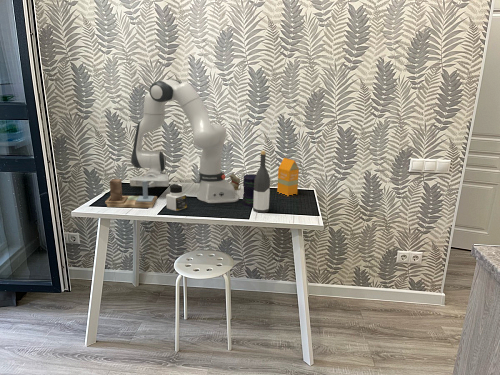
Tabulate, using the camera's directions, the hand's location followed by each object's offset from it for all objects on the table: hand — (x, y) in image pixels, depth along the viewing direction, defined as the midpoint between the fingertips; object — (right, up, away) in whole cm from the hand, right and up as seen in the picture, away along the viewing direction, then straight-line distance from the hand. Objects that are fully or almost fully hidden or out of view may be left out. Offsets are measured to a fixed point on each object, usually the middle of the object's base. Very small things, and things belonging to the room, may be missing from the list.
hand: (147, 185), depth 209 cm
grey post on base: (0, -7, -3) cm, 8 cm away
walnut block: (-15, -8, -3) cm, 17 cm away
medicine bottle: (+16, -11, -6) cm, 21 cm away
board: (-7, -9, 0) cm, 11 cm away
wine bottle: (+58, -12, -6) cm, 60 cm away
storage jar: (+54, -10, +3) cm, 55 cm away
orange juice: (+74, -4, +23) cm, 77 cm away
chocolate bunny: (+43, -2, +27) cm, 51 cm away
